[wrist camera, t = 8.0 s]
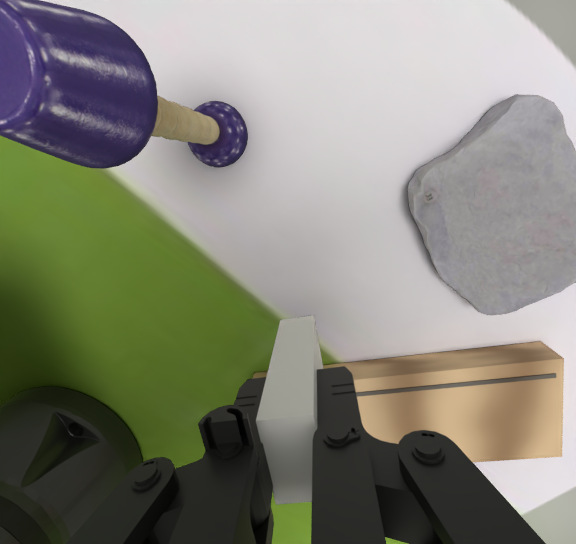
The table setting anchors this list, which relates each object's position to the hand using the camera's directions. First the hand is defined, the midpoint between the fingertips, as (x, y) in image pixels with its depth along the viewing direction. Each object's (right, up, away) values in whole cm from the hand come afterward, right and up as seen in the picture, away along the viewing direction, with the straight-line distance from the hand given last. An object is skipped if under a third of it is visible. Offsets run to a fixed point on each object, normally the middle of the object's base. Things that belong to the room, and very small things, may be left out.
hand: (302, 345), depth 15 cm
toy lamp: (-6, +13, +9) cm, 16 cm away
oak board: (+8, -7, +13) cm, 17 cm away
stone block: (+13, +7, +9) cm, 17 cm away
